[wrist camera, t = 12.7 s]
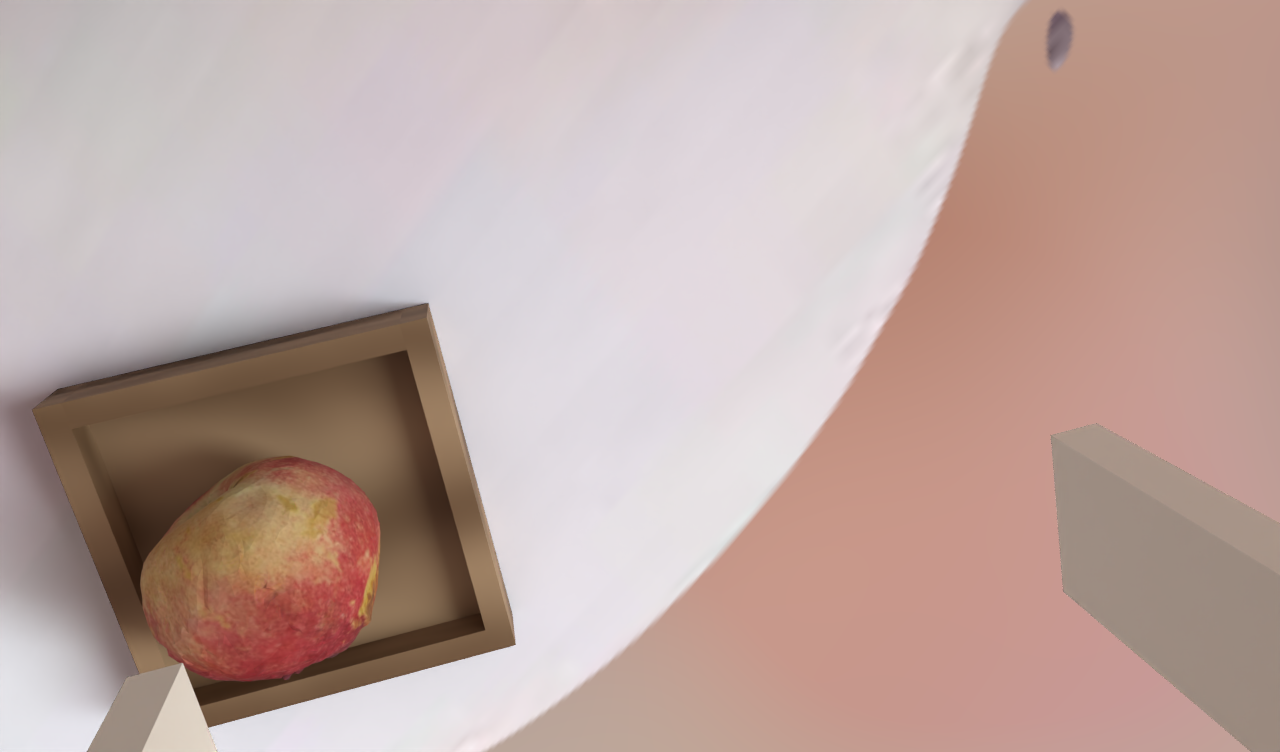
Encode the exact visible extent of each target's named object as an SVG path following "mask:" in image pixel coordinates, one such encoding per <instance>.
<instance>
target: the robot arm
mask: <svg viewBox="0 0 1280 752" xmlns="http://www.w3.org/2000/svg"><path fill="white" fill-rule="evenodd" d="M1051 444H1052V456H1053V468H1054V482H1055V493H1056V507H1057V519H1058V532H1059V544H1060V557H1061V570H1062V582H1063V592H1064V593H1066V594H1067V595H1068V596H1069V597H1070V598H1071V599H1073V600H1074V601H1075V602H1076V603H1077V604H1078V605H1080V606H1081V607H1082V608H1083V609H1084V610H1086V611H1087V612H1088V613H1089V614H1090V615H1091V616H1092V617H1094V618H1095V619H1096V620H1097V621H1098V622H1100V623H1101V624H1102V625H1103V626H1104V627H1105V628H1107V629H1108V630H1109V631H1110V632H1111V633H1112V634H1114V635H1115V636H1116V637H1117V638H1118V639H1119V640H1121V641H1122V642H1123V643H1124V644H1125V645H1126V646H1128V647H1129V648H1130V649H1131V650H1132V651H1134V652H1135V653H1136V654H1137V655H1138V656H1139V657H1141V658H1142V659H1143V660H1144V661H1145V662H1146V663H1148V664H1149V665H1150V666H1151V667H1152V668H1153V669H1155V670H1156V671H1157V672H1158V673H1159V674H1160V675H1162V676H1163V677H1164V678H1165V679H1166V680H1168V681H1169V682H1170V683H1171V684H1172V685H1173V686H1174V687H1176V688H1177V689H1178V690H1179V691H1180V692H1181V693H1183V694H1184V695H1185V696H1186V697H1187V698H1189V699H1190V700H1191V701H1192V702H1193V703H1194V704H1196V705H1197V706H1198V707H1199V708H1200V709H1201V710H1203V711H1204V712H1205V713H1206V714H1207V715H1208V716H1210V717H1211V718H1212V719H1213V720H1214V721H1215V722H1217V723H1218V724H1219V725H1220V726H1222V727H1223V728H1224V729H1225V730H1226V731H1227V732H1228V733H1230V734H1231V735H1232V736H1233V737H1234V738H1235V739H1237V740H1238V741H1239V742H1240V743H1241V744H1242V745H1244V746H1245V747H1246V748H1247V749H1248V750H1250V751H1251V752H1280V523H1278V522H1276V521H1275V520H1273V519H1271V518H1269V517H1267V516H1265V515H1264V514H1262V513H1260V512H1258V511H1256V510H1255V509H1253V508H1251V507H1249V506H1247V505H1245V504H1244V503H1242V502H1240V501H1238V500H1236V499H1234V498H1233V497H1231V496H1229V495H1227V494H1225V493H1223V492H1222V491H1220V490H1218V489H1216V488H1214V487H1213V486H1211V485H1209V484H1207V483H1205V482H1203V481H1202V480H1200V479H1198V478H1196V477H1194V476H1192V475H1191V474H1189V473H1187V472H1185V471H1183V470H1181V469H1180V468H1178V467H1176V466H1174V465H1172V464H1170V463H1169V462H1167V461H1165V460H1163V459H1161V458H1159V457H1158V456H1156V455H1154V454H1152V453H1150V452H1149V451H1147V450H1145V449H1143V448H1141V447H1139V446H1138V445H1136V444H1134V443H1132V442H1130V441H1128V440H1127V439H1125V438H1123V437H1121V436H1119V435H1117V434H1116V433H1114V432H1112V431H1110V430H1108V429H1106V428H1104V427H1103V426H1101V425H1099V424H1097V423H1096V424H1092V425H1088V426H1084V427H1081V428H1077V429H1073V430H1070V431H1066V432H1061V433H1058V434H1054V435H1051ZM87 752H217V749H216V747H215V744H214V741H213V739H212V736H211V734H210V731H209V729H208V726H207V723H206V721H205V718H204V716H203V713H202V711H201V708H200V706H199V703H198V700H197V698H196V695H195V693H194V690H193V688H192V685H191V683H190V680H189V677H188V675H187V672H186V670H185V667H184V665H183V663H180V664H176V665H172V666H168V667H164V668H160V669H157V670H153V671H149V672H145V673H141V674H138V675H134V676H130V677H127V678H126V680H125V682H124V684H123V686H122V688H121V689H120V691H119V693H118V695H117V697H116V699H115V700H114V702H113V704H112V706H111V708H110V710H109V712H108V713H107V715H106V717H105V719H104V721H103V723H102V725H101V726H100V728H99V730H98V732H97V734H96V736H95V738H94V739H93V741H92V743H91V745H90V747H89V749H88V751H87Z"/></svg>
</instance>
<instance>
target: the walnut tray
mask: <svg viewBox="0 0 1280 752" xmlns="http://www.w3.org/2000/svg"><path fill="white" fill-rule="evenodd" d="M32 411H33V414H34V416H35V419H36V421H37V423H38V426H39V428H40V431H41V433H42V436H43V438H44V441H45V443H46V446H47V448H48V450H49V453H50V455H51V458H52V460H53V463H54V465H55V468H56V470H57V473H58V475H59V477H60V480H61V482H62V485H63V487H64V490H65V492H66V495H67V497H68V500H69V502H70V504H71V507H72V509H73V512H74V514H75V517H76V519H77V522H78V524H79V527H80V529H81V531H82V534H83V536H84V539H85V541H86V544H87V546H88V549H89V551H90V554H91V556H92V558H93V561H94V563H95V566H96V568H97V571H98V573H99V576H100V578H101V581H102V583H103V586H104V588H105V590H106V593H107V595H108V598H109V600H110V603H111V605H112V608H113V610H114V613H115V615H116V617H117V620H118V622H119V625H120V627H121V630H122V632H123V635H124V637H125V640H126V642H127V644H128V647H129V649H130V652H131V654H132V657H133V659H134V662H135V664H136V667H137V669H138V671H139V674H141V673H145V672H149V671H153V670H157V669H160V668H164V667H168V666H172V665H176V664H180V663H179V662H177V661H176V660H174V659H173V658H171V657H169V656H168V652H167V648H165V647H164V646H163V645H161V644H160V643H159V642H158V641H157V640H156V639H155V638H154V636H153V634H152V632H151V630H150V628H149V626H148V623H147V620H146V617H145V614H144V611H143V604H142V593H141V587H140V581H141V572H142V569H143V564H144V562H145V560H146V558H147V556H148V555H149V553H150V552H151V551H152V550H153V548H154V547H155V546H156V545H157V544H158V543H159V541H160V540H161V539H162V538H163V536H164V535H165V534H166V532H167V531H168V530H169V529H170V527H171V526H172V524H173V523H174V522H175V520H176V519H177V518H179V517H180V516H181V515H182V514H183V513H184V512H185V510H186V509H187V508H188V507H189V506H190V505H191V504H192V503H193V502H194V501H195V500H197V499H198V498H199V497H200V496H201V495H203V494H204V493H205V492H207V491H208V490H209V489H210V488H211V487H212V486H214V485H215V484H216V483H217V482H219V481H220V480H221V479H223V478H224V477H226V476H227V475H229V474H230V473H232V472H233V471H235V470H236V469H237V468H239V467H241V466H243V465H244V464H247V463H250V462H252V461H255V460H260V459H264V458H270V457H281V456H294V457H298V458H302V459H306V460H310V461H314V462H318V463H320V464H323V465H325V466H328V467H330V468H332V469H335V470H336V471H338V472H340V473H342V474H343V475H345V476H346V477H348V478H350V479H351V480H352V481H353V482H354V483H355V484H356V485H357V486H359V487H360V488H361V489H362V490H363V491H364V492H365V494H366V496H367V497H368V498H369V500H370V502H371V503H372V504H373V506H374V508H375V509H376V511H377V517H378V521H379V522H380V556H379V567H378V570H379V574H378V586H377V591H376V596H375V601H374V605H373V609H372V616H371V619H372V620H371V622H370V623H369V624H368V625H367V626H365V627H363V628H362V629H361V631H360V633H359V634H358V635H357V637H356V639H355V640H354V641H353V643H352V644H351V645H350V646H349V647H348V648H347V649H346V650H345V651H343V652H341V653H339V654H338V655H337V656H334V657H332V658H326V659H324V660H322V661H321V662H319V663H318V662H317V663H314V664H311V665H309V666H308V667H305V668H304V669H303V670H302V671H301V672H300V673H299V674H292V675H291V677H290V678H289V679H288V680H284V679H283V678H277V679H267V680H255V681H252V682H251V681H244V682H242V681H223V680H213V679H209V678H204V677H202V676H200V675H198V674H196V673H194V672H192V671H190V670H189V669H187V668H186V667H185V666H184V667H185V670H186V672H187V675H188V677H189V680H190V683H191V685H192V688H193V690H194V693H195V695H196V698H197V700H198V703H199V706H200V708H201V711H202V713H203V716H204V718H205V721H206V723H207V726H208V728H209V727H212V726H216V725H220V724H223V723H227V722H231V721H235V720H238V719H242V718H246V717H249V716H253V715H257V714H261V713H264V712H268V711H272V710H275V709H279V708H283V707H287V706H290V705H294V704H298V703H301V702H305V701H309V700H313V699H316V698H320V697H324V696H327V695H331V694H335V693H339V692H342V691H346V690H350V689H354V688H357V687H361V686H365V685H368V684H372V683H376V682H380V681H383V680H387V679H391V678H394V677H398V676H402V675H406V674H409V673H413V672H417V671H420V670H424V669H428V668H432V667H435V666H439V665H443V664H446V663H450V662H454V661H458V660H461V659H465V658H469V657H472V656H476V655H480V654H484V653H487V652H491V651H495V650H498V649H502V648H506V647H510V646H513V645H516V644H515V635H514V625H513V616H512V611H511V608H510V604H509V600H508V597H507V593H506V589H505V585H504V582H503V578H502V574H501V571H500V567H499V563H498V560H497V556H496V552H495V548H494V545H493V541H492V537H491V534H490V530H489V526H488V523H487V519H486V515H485V511H484V508H483V504H482V500H481V497H480V493H479V489H478V486H477V482H476V478H475V474H474V471H473V467H472V463H471V460H470V456H469V452H468V449H467V445H466V441H465V437H464V434H463V430H462V426H461V423H460V419H459V415H458V412H457V408H456V404H455V400H454V397H453V393H452V389H451V386H450V382H449V378H448V374H447V371H446V367H445V363H444V360H443V356H442V352H441V349H440V345H439V341H438V337H437V334H436V330H435V326H434V323H433V319H432V315H431V312H430V308H429V304H428V303H427V304H423V305H418V306H414V307H410V308H406V309H401V310H397V311H393V312H388V313H384V314H380V315H375V316H371V317H367V318H362V319H358V320H354V321H349V322H345V323H341V324H337V325H332V326H328V327H324V328H319V329H315V330H311V331H306V332H302V333H298V334H293V335H289V336H285V337H280V338H276V339H272V340H268V341H263V342H259V343H255V344H250V345H246V346H242V347H237V348H233V349H229V350H224V351H220V352H216V353H211V354H207V355H203V356H199V357H194V358H190V359H186V360H181V361H177V362H173V363H168V364H164V365H160V366H155V367H151V368H147V369H143V370H138V371H134V372H130V373H125V374H121V375H117V376H112V377H108V378H104V379H99V380H95V381H91V382H86V383H82V384H78V385H74V386H69V387H65V388H61V389H57V390H56V391H55V392H54V393H52V394H51V395H50V396H49V397H47V398H46V399H45V400H44V401H42V402H41V403H40V404H39V405H37V406H36V407H35V408H34V409H32Z"/></svg>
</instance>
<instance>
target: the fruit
mask: <svg viewBox="0 0 1280 752" xmlns="http://www.w3.org/2000/svg"><path fill="white" fill-rule="evenodd" d="M379 556H380V522H379V521H378V517H377V511H376V509H375V508H374V506H373V504H372V503H371V502H370V500H369V498H368V497H367V496H366V494H365V492H364V491H363V490H362V489H361V488H360V487H359V486H357V485H356V484H355V483H354V482H353V481H352V480H351V479H350V478H348V477H346V476H345V475H343V474H342V473H340V472H338V471H336V470H335V469H332V468H330V467H328V466H325V465H323V464H320V463H318V462H314V461H310V460H306V459H302V458H298V457H294V456H281V457H270V458H264V459H260V460H255V461H252V462H250V463H247V464H244V465H243V466H241V467H239V468H237V469H236V470H235V471H233V472H232V473H230V474H229V475H227V476H226V477H224V478H223V479H221V480H220V481H219V482H217V483H216V484H215V485H214V486H212V487H211V488H210V489H209V490H208V491H207V492H205V493H204V494H203V495H201V496H200V497H199V498H198V499H197V500H195V501H194V502H193V503H192V504H191V505H190V506H189V507H188V508H187V509H186V510H185V512H184V513H183V514H182V515H181V516H180V517H179V518H177V519H176V520H175V522H174V523H173V524H172V526H171V527H170V529H169V530H168V531H167V532H166V534H165V535H164V536H163V538H162V539H161V540H160V541H159V543H158V544H157V545H156V546H155V547H154V548H153V550H152V551H151V552H150V553H149V555H148V556H147V558H146V560H145V562H144V564H143V569H142V572H141V581H140V587H141V593H142V604H143V611H144V614H145V617H146V620H147V623H148V626H149V628H150V630H151V632H152V634H153V636H154V638H155V639H156V640H157V641H158V642H159V643H160V644H161V645H163V646H164V647H165V648H167V652H168V656H169V657H171V658H173V659H174V660H176V661H177V662H179V663H183V665H184V666H185V667H186V668H187V669H189V670H190V671H192V672H194V673H196V674H198V675H200V676H202V677H204V678H209V679H213V680H223V681H242V682H244V681H251V682H252V681H255V680H267V679H277V678H283V679H284V680H288V679H289V678H290V677H291V675H292V674H299V673H300V672H301V671H302V670H303V669H304V668H305V667H308V666H309V665H311V664H314V663H317V662H318V663H319V662H321V661H322V660H324V659H326V658H332V657H334V656H337V655H338V654H339V653H341V652H343V651H345V650H346V649H347V648H348V647H349V646H350V645H351V644H352V643H353V641H354V640H355V639H356V637H357V635H358V634H359V633H360V631H361V629H362V628H363V627H365V626H367V625H368V624H369V623H370V622H371V620H372V619H371V616H372V609H373V605H374V601H375V596H376V591H377V586H378V574H379V570H378V567H379Z"/></svg>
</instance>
